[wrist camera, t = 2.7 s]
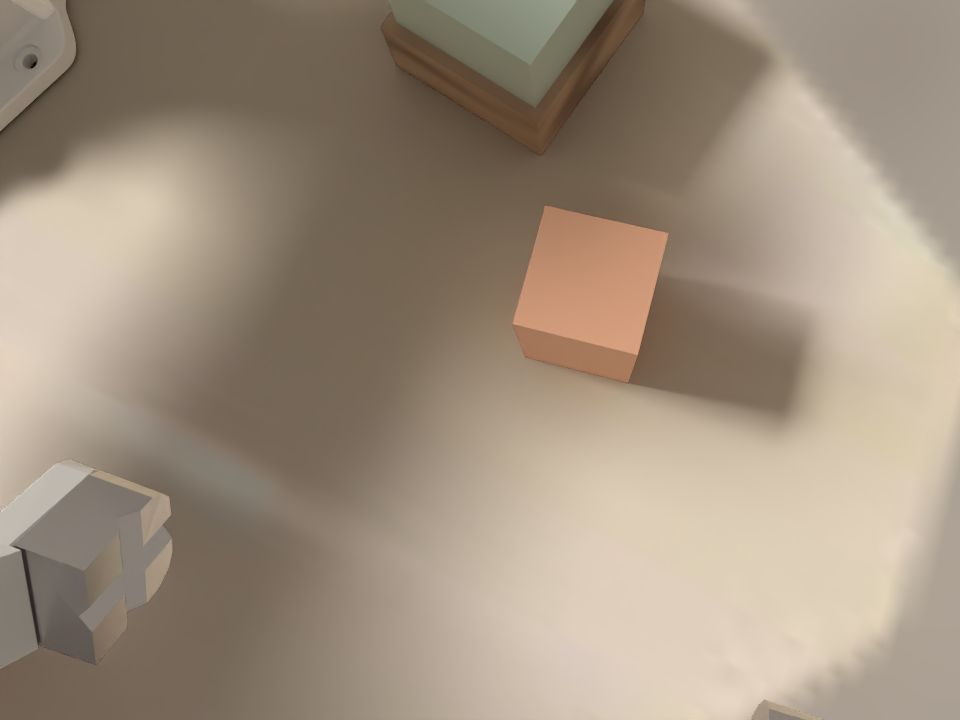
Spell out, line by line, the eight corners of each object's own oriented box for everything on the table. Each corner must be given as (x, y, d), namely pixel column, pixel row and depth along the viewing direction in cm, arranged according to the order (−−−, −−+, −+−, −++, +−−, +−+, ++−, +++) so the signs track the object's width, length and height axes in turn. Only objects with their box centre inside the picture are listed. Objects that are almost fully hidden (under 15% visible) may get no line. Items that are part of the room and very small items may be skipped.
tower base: (541, 158, 44) (537, 123, 40) (397, 68, 46) (380, 27, 42) (643, 15, 45) (649, -33, 41) (498, -68, 46) (490, -121, 43)
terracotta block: (628, 382, 41) (637, 355, 34) (525, 356, 42) (512, 323, 35) (653, 282, 42) (668, 233, 35) (551, 258, 43) (545, 205, 36)
